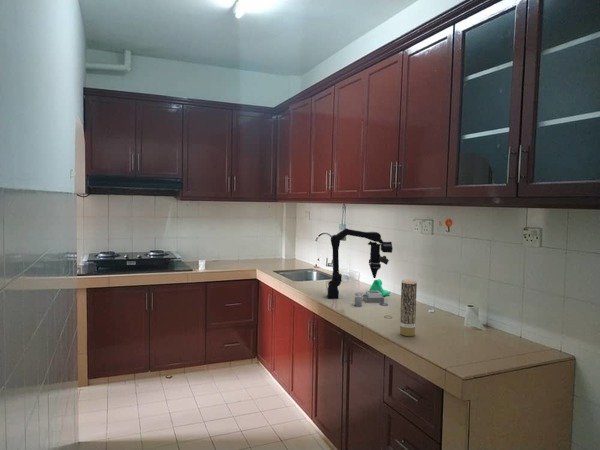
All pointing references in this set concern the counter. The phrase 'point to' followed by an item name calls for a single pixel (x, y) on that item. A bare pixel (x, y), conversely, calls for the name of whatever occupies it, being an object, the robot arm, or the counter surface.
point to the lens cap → (383, 304)
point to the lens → (358, 300)
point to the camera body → (373, 297)
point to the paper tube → (408, 307)
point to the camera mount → (378, 287)
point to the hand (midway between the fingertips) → (374, 276)
